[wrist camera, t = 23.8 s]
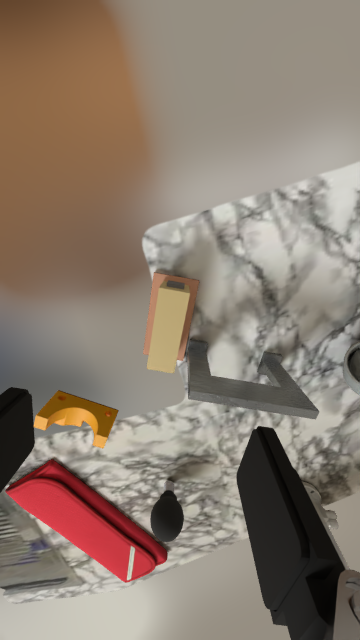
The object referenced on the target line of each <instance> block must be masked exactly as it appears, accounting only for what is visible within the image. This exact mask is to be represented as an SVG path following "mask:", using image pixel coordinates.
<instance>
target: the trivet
mask: <svg viewBox="0 0 360 640" xmlns="http://www.w3.org/2000/svg"><path fill="white" fill-rule="evenodd" d="M168 280H170V281H176V282H181V283H185V285H189V289H190V296H189V301H188V306H187V311H186V316H185V321H184V326H183V331H182V336H181V341H180V346H179V351H178V356H177V360H181V361H183V359H184V354H185V349H186V344H187V339H188V334H189V329H190V324H191V319H192V314H193V309H194V305H195V300H196V295H197V290H198V285H199V280H194V279H188V278H182V277H177V276H171V275H166V274H160V273H155V272H154V276H153V284H152V291H151V299H150V306H149V314H148V321H147V329H146V337H145V344H144V352H143V354H145V355H149V350H150V344H151V337H152V330H153V324H154V317H155V310H156V304H157V297H158V291H159V287H160V285H161V284H162V282H163V281H168Z"/></svg>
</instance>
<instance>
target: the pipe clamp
mask: <svg viewBox="0 0 360 640" xmlns="http://www.w3.org/2000/svg"><path fill="white" fill-rule="evenodd" d="M118 411H119V410H117V409H114V408H111V407H108V406H105V405H102V404H99V403H96V402H93V401H90V400H87V399H84V398H81V397H78V396H75V395H72V394H69V393H66V392H63V391H60V390H58V391H57V392H56V393H55V395H54V396H53V397H52V398H51V399H50V400H49V401H48V403H47V404H46V405H45V406H44V407H43V408H42V409H41V410H40V412H39V413H38V414H37V415H36V418H35V422H34V427H36V428H39V429H42V430H46V429H47V428H48V427H49V426H50V425H51V424H53V423H56V424H59V425H63V426H64V425H75V426H79V427H81V425H82V423H83V422H84V421H85V422H86V423H88V424H89V425H90V426H91V428H92V429H93V432H94V442H93V445H94V446H97V447H100V448H104V446H105V443H106V441H107V438H108V436H109V433H110V431H111V428H112V426H113V423H114V421H115V418H116V416H117V413H118Z"/></svg>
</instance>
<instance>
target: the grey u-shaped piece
mask: <svg viewBox="0 0 360 640" xmlns="http://www.w3.org/2000/svg"><path fill="white" fill-rule="evenodd" d="M207 345H208V343H207V342H204V341H198V340H192V339H190V342H189V347H188V352H187V356H186V362H188V399H192V400H198V401H204V402H210V403H217V404H223V405H229V406H235V407H242V408H248V409H254V410H260V411H267V412H273V413H279V414H285V415H292V416H298V417H304V418H311V419H316V418H317V416H318V414H319V411H318V409H317V408H316V407H315V406H314V404H313V403H312V402H311V401H310V400H309V398H308V397H307V396H306V395H305V393H304V392H303V391H302V390H301V389H300V387H299V386H298V385H297V384H296V383H295V381H294V380H293V379H292V378H291V376H290V375H289V374H288V373H287V372H286V370H285V369H284V368H283V367H282V365H281V364H280V363H281V360H282V358H283V356H282V355H281V354H275V353H269V352H264V353H263V356H262V359H261V362H260V365H259V368H258V371H257V372H258V373H259V374H262V375H267V377H268V378H269V380H270V382H271V383H272V385H273V386H271V385H265V384H259V383H253V382H246V381H240V380H234V379H228V378H222V377H216V376H211V373H210V368H209V363H208V359H207V354H206V350H207Z"/></svg>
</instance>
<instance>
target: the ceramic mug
mask: <svg viewBox="0 0 360 640" xmlns="http://www.w3.org/2000/svg"><path fill="white" fill-rule="evenodd" d="M343 376H344V379H345V381H346V383H347V385H348V386H349V387H350V388H351V389H352V390H353V391H354V392H356V393H357V394H359V395H360V342H358V343H356V344H354V345H353V346H351V347H350V348H349V350H348V351H347V352H346V354H345V357H344V368H343Z"/></svg>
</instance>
